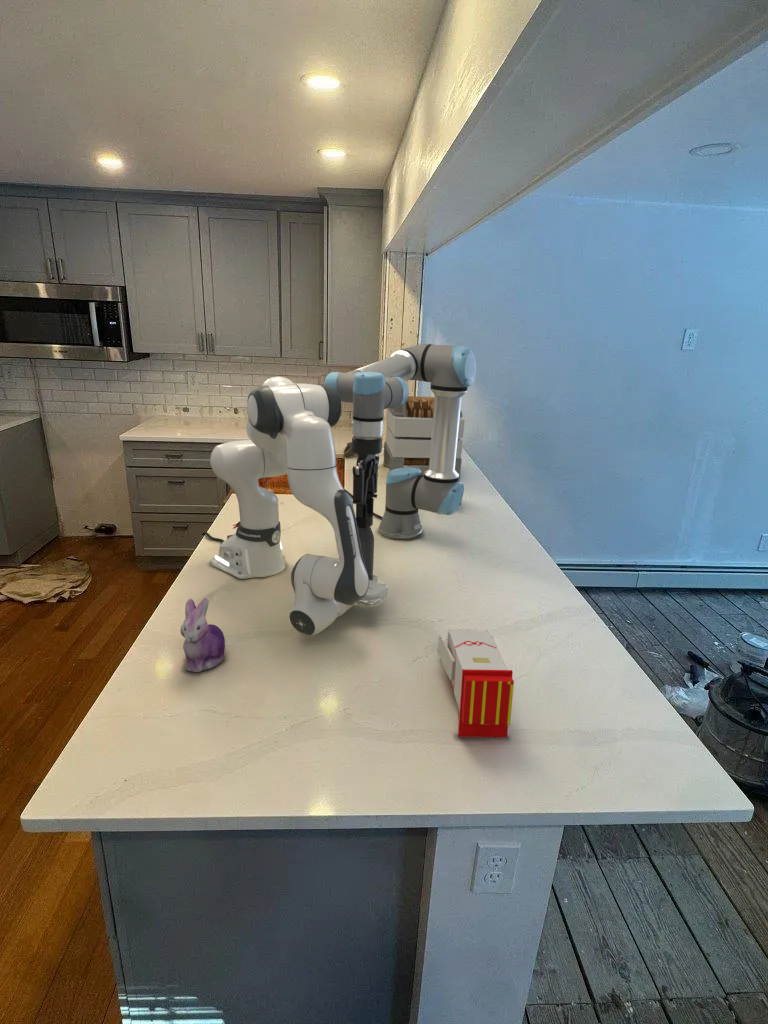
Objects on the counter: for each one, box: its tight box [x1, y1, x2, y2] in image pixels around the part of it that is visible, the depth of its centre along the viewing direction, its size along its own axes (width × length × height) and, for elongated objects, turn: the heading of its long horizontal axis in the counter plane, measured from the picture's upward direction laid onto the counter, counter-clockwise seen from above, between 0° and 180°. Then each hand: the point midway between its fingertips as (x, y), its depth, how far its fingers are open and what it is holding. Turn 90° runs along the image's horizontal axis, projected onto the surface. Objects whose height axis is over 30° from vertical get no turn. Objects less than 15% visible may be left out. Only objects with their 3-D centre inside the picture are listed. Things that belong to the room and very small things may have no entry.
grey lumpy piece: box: [343, 441, 357, 459], centre depth 304 cm, size 22×10×15 cm
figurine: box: [180, 597, 226, 673], centre depth 122 cm, size 9×10×15 cm
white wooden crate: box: [383, 395, 465, 482], centre depth 268 cm, size 34×33×41 cm
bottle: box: [358, 526, 375, 580], centre depth 152 cm, size 6×6×23 cm
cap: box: [366, 513, 374, 527], centre depth 148 cm, size 4×4×2 cm
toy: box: [437, 628, 515, 738], centre depth 117 cm, size 12×13×30 cm
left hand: (364, 574), depth 154 cm, fingers closed on bottle, 5 cm apart
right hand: (364, 524), depth 148 cm, fingers closed on cap, 4 cm apart
